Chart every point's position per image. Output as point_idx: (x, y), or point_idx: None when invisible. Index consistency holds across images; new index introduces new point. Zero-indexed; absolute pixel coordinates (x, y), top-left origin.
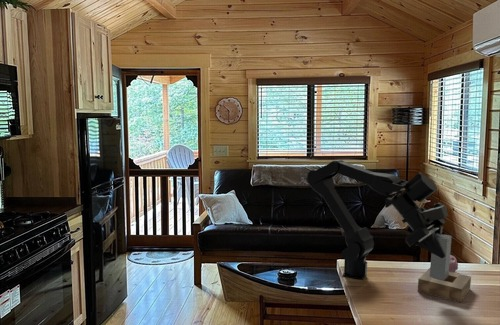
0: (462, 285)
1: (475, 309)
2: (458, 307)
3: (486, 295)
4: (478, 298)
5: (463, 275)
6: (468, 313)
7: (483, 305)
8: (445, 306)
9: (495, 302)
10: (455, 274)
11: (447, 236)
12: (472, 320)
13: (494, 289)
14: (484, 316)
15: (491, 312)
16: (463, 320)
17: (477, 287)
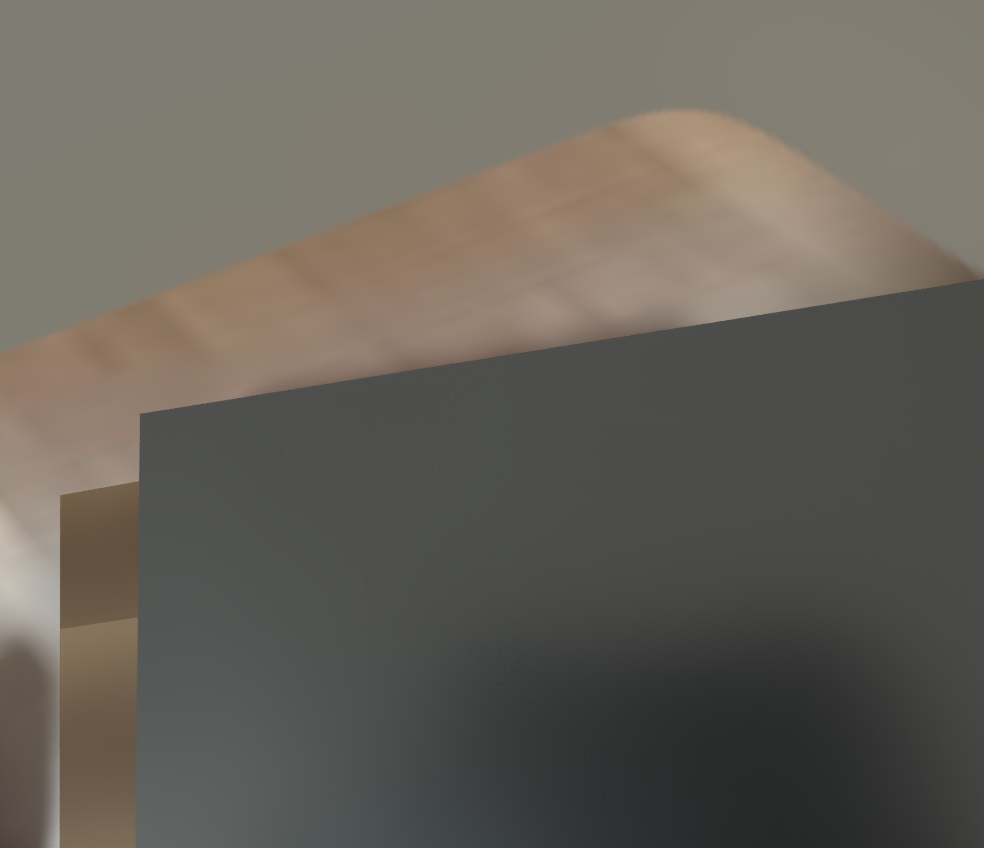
0: None
1: (607, 288)
2: None
3: (205, 348)
4: (328, 370)
5: (83, 573)
6: (755, 294)
7: (457, 277)
8: None
9: (310, 236)
10: (109, 663)
11: (422, 547)
12: (881, 208)
13: (18, 354)
14: (696, 177)
15: (558, 174)
16: (960, 260)
17: (66, 481)
